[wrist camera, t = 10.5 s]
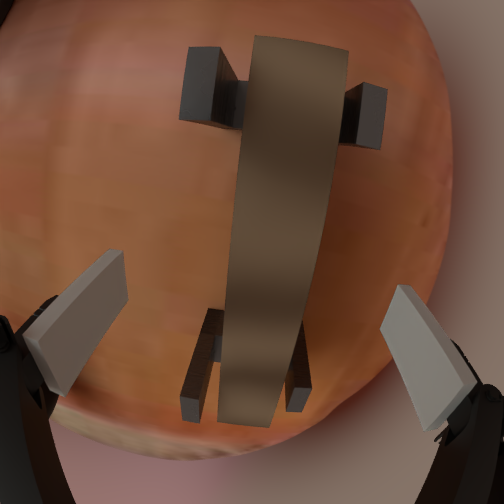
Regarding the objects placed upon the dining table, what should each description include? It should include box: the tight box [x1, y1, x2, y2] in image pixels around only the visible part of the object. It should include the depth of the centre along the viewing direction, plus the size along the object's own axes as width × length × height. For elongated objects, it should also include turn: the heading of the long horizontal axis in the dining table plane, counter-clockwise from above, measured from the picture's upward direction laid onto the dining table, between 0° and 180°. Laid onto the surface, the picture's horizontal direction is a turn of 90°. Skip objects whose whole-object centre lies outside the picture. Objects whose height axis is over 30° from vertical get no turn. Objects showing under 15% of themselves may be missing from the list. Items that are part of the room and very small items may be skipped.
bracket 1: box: [179, 47, 388, 150], centre depth 13 cm, size 3×8×10 cm, turn 83°
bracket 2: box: [180, 308, 312, 424], centre depth 20 cm, size 3×8×10 cm, turn 83°
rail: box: [217, 35, 349, 428], centre depth 16 cm, size 24×4×5 cm, turn 173°
